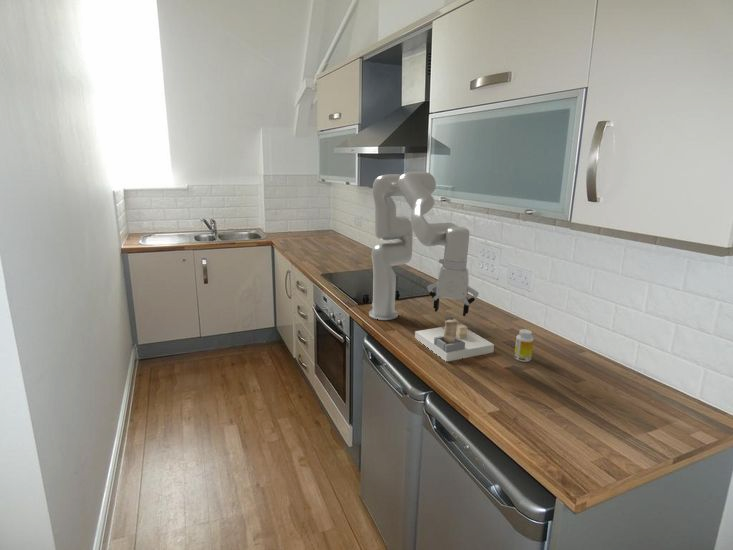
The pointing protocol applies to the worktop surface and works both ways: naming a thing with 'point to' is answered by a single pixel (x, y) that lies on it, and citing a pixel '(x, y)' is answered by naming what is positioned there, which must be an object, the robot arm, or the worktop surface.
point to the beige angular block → (459, 328)
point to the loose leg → (450, 331)
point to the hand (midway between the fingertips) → (450, 312)
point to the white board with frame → (454, 344)
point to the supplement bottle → (524, 345)
